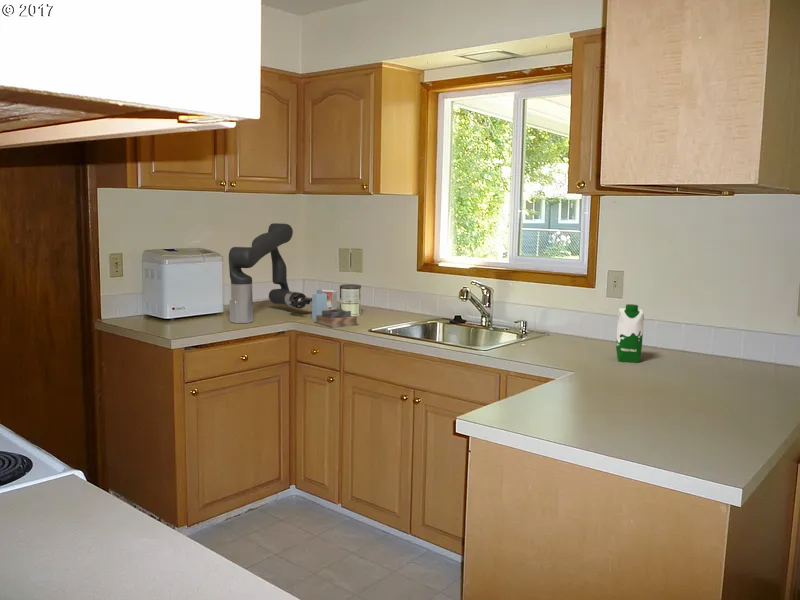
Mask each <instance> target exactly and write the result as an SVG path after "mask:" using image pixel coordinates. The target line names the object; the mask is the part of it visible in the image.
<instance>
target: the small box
mask: <svg viewBox="0 0 800 600" xmlns="http://www.w3.org/2000/svg"><path fill="white" fill-rule="evenodd" d="M321 290H322V293H325V294H327V310H334V309H338V308H337V305H338V304H337V302H338V299H337V297H338V295H337V293H338V291H337V290H331V289H329V290H328V289H321Z"/></svg>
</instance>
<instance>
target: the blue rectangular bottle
mask: <svg viewBox="0 0 800 600" xmlns="http://www.w3.org/2000/svg"><path fill="white" fill-rule="evenodd" d="M322 290H323V289H316V293H311V298H312V305H311V320H312V321H314V322H316V315H322V311H323V310H327V294H325V293H322Z"/></svg>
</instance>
